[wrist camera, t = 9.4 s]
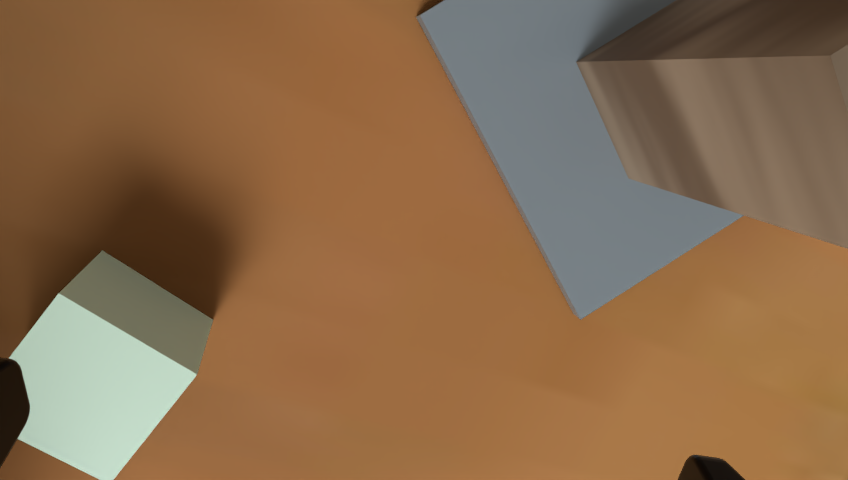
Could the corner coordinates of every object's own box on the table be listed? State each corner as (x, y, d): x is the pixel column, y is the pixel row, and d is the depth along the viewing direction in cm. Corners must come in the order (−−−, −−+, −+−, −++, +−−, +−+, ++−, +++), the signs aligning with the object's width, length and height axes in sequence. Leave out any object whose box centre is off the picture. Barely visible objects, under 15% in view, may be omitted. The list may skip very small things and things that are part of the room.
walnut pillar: (628, 178, 22) (892, 262, 12) (576, 61, 20) (830, 55, 11) (735, 111, 22) (1076, 143, 12) (691, -9, 20) (1040, -77, 11)
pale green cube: (141, 409, 21) (109, 484, 17) (28, 347, 20) (-34, 413, 16) (213, 318, 21) (197, 374, 17) (103, 249, 19) (58, 293, 16)
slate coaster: (573, 313, 23) (580, 319, 23) (415, 16, 19) (420, 15, 19) (835, 146, 24) (849, 148, 23) (734, -177, 20) (747, -184, 19)
